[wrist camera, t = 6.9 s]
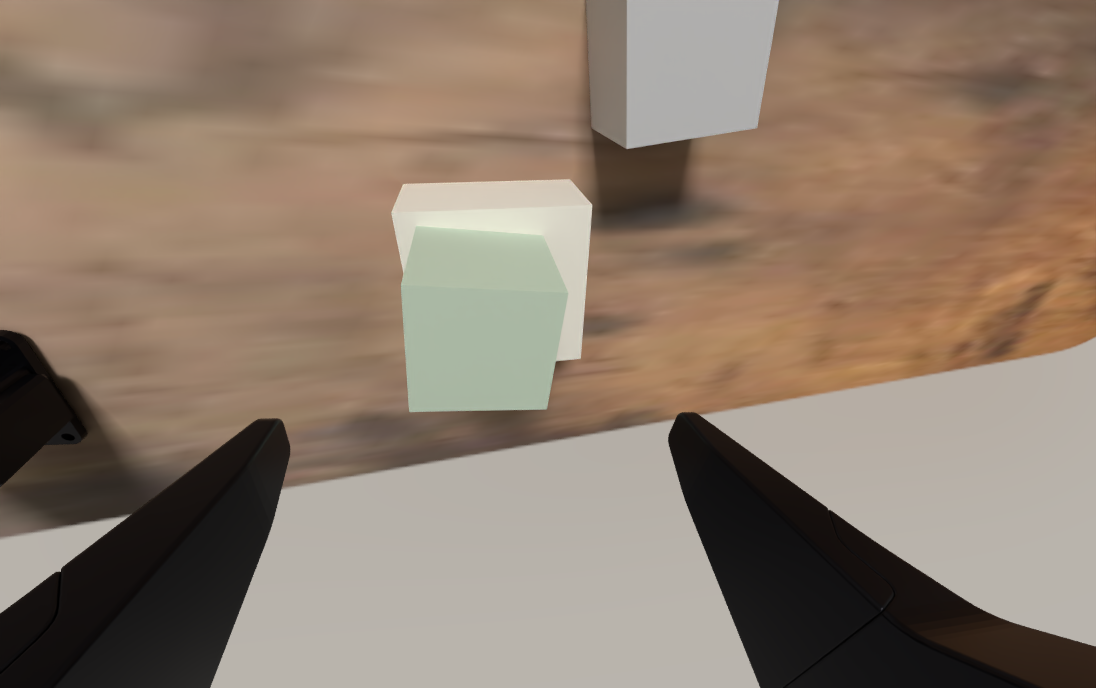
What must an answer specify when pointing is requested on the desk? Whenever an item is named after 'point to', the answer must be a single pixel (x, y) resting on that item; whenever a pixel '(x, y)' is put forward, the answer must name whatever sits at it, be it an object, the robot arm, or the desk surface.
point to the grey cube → (676, 67)
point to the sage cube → (480, 320)
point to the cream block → (511, 228)
